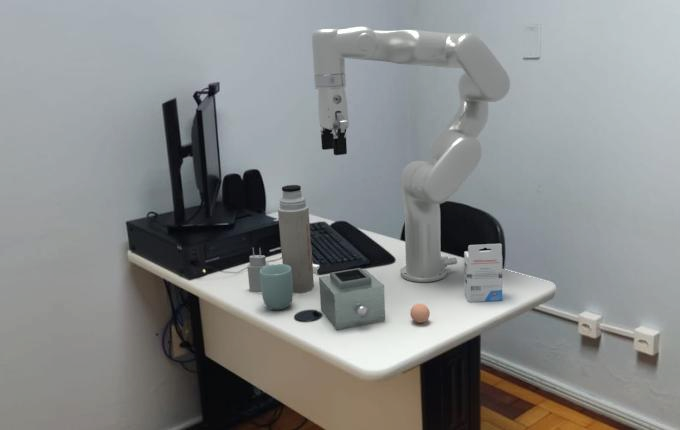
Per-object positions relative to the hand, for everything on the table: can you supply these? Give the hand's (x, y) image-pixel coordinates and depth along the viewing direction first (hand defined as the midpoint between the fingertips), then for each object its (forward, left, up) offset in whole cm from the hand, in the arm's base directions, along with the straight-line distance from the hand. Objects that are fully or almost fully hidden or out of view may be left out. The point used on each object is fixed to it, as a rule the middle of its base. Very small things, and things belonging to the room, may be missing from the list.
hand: (334, 151), depth 155 cm
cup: (+18, +4, -37) cm, 41 cm away
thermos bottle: (+10, -6, -37) cm, 39 cm away
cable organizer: (+6, -18, -37) cm, 42 cm away
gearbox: (+3, +17, -37) cm, 41 cm away
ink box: (-30, +21, -37) cm, 52 cm away
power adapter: (+20, -9, -37) cm, 43 cm away
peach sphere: (-10, +27, -37) cm, 47 cm away
